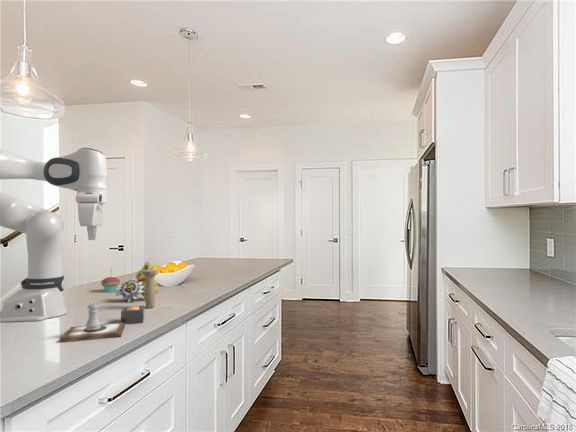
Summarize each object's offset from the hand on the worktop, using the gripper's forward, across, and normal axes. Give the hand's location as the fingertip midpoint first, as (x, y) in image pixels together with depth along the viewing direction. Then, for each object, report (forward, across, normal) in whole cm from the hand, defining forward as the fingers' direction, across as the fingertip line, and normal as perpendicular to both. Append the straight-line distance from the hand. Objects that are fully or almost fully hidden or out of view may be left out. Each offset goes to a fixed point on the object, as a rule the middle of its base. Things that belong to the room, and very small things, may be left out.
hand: (92, 240), depth 123 cm
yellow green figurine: (+29, -60, +14) cm, 68 cm away
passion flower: (+29, -43, +9) cm, 53 cm away
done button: (+27, -6, +12) cm, 30 cm away
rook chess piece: (+28, +6, +1) cm, 28 cm away
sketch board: (+29, +6, +2) cm, 30 cm away
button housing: (+29, -6, +12) cm, 32 cm away
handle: (+29, -26, +17) cm, 43 cm away
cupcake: (+29, -69, -3) cm, 75 cm away
